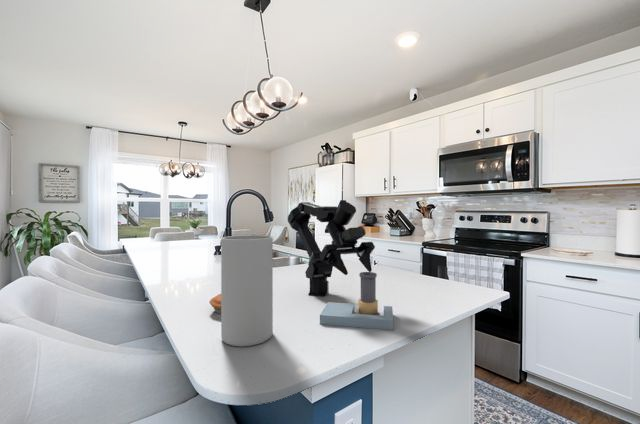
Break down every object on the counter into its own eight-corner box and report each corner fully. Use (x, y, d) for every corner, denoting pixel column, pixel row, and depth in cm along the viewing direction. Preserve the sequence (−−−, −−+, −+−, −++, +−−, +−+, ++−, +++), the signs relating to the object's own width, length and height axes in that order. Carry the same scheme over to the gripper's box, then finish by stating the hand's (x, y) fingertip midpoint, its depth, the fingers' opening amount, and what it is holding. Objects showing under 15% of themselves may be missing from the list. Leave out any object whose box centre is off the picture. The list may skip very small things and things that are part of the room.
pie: (198, 315, 91) (198, 298, 91) (230, 300, 106) (230, 286, 106) (240, 322, 85) (240, 304, 85) (268, 306, 100) (268, 291, 100)
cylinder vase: (224, 352, 67) (224, 240, 67) (219, 331, 78) (219, 236, 78) (278, 342, 72) (278, 238, 72) (266, 324, 83) (266, 234, 83)
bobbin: (352, 318, 88) (352, 274, 88) (363, 311, 93) (363, 270, 93) (373, 323, 84) (373, 277, 84) (383, 316, 89) (383, 273, 89)
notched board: (319, 323, 84) (319, 315, 84) (327, 310, 95) (327, 302, 95) (393, 329, 79) (393, 320, 79) (392, 314, 91) (392, 306, 91)
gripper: (324, 218, 92) (344, 259, 83) (371, 217, 102) (394, 254, 92) (312, 241, 99) (329, 281, 90) (357, 239, 108) (377, 275, 99)
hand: (359, 272), depth 92 cm, fingers open, 9 cm apart
